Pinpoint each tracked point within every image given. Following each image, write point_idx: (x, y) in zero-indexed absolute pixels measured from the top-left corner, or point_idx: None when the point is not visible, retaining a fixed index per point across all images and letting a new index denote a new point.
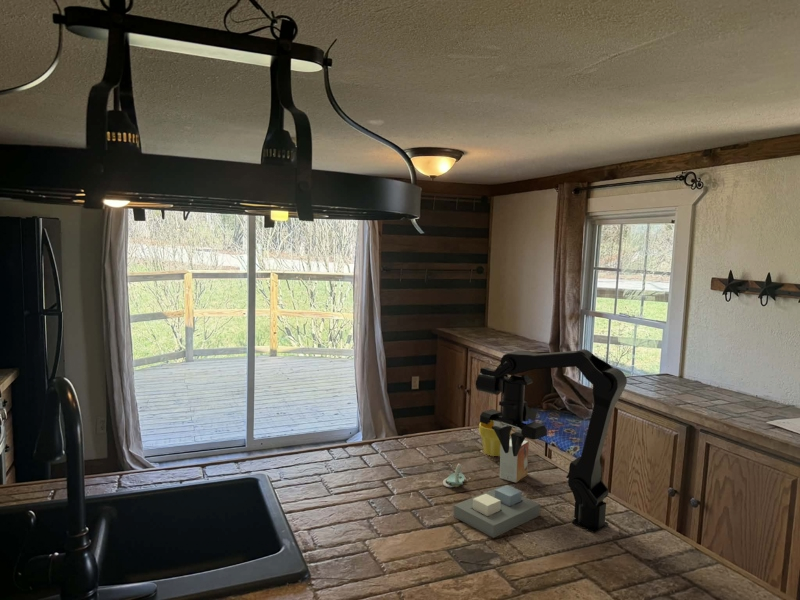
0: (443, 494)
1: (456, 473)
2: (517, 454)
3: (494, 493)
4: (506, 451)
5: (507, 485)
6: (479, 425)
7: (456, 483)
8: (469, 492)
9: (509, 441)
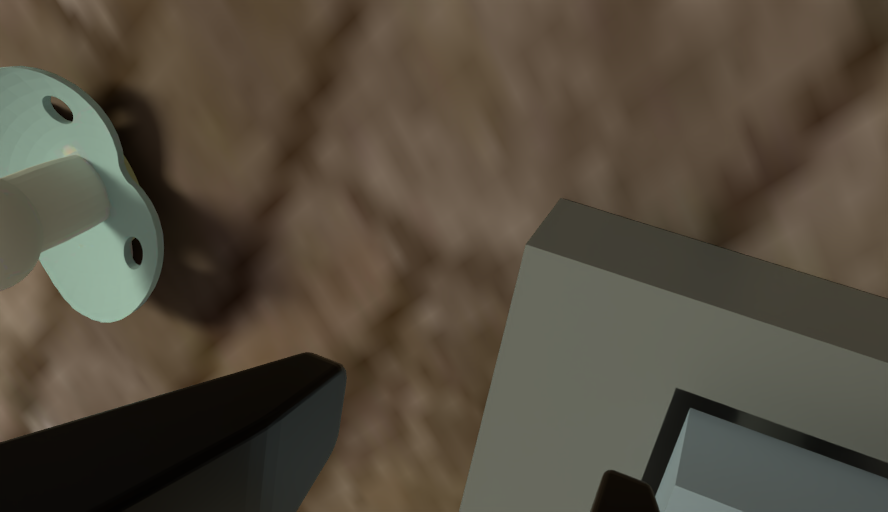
0: None
1: (32, 267)
2: (656, 501)
3: (558, 452)
4: (315, 469)
5: (686, 495)
6: None
7: (135, 305)
8: (281, 268)
9: (111, 508)
